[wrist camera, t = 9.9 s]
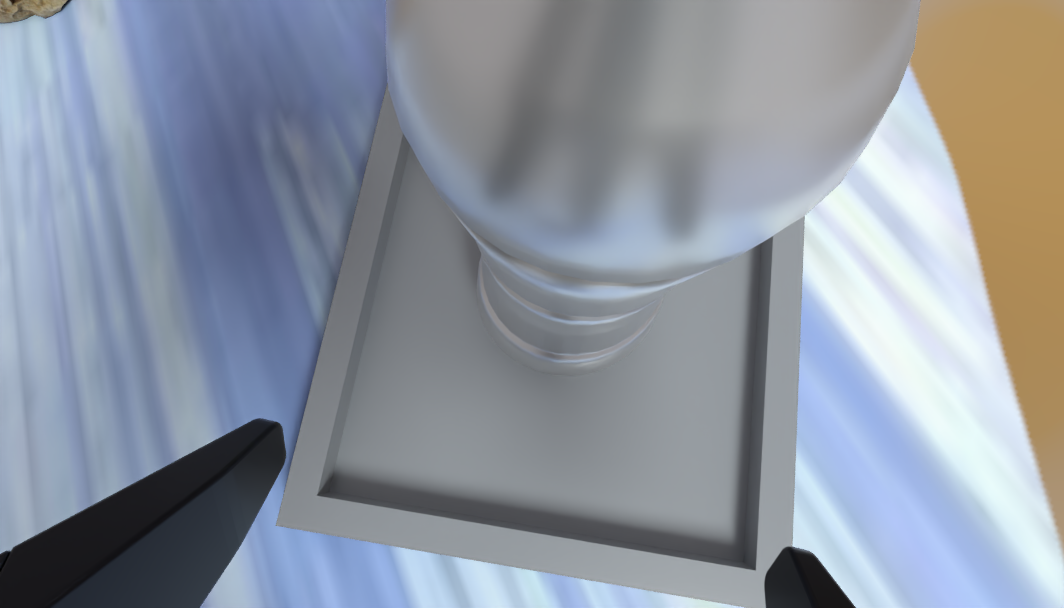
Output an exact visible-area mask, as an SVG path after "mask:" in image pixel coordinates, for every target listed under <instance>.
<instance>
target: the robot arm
mask: <svg viewBox="0 0 1064 608" xmlns="http://www.w3.org/2000/svg"><path fill="white" fill-rule="evenodd" d="M285 459H286V449H285V443H284V436H283V429H282V426H281V425H280V423H278V422H275V421H270V420H266V419H261V418H259V419H255V420H252V421H250V422H248V423H247V424H245V425H243V426H241V427H239V428H237V429H235V430H233V431H231V432H230V433H228V434H226V435H224V436H222V437H220V438H218V439H216V440H215V441H213V442H211V443H209V444H207V445H205V446H203V447H201V448H199V449H198V450H196V451H194V452H192V453H190V454H188V455H186V456H184V457H182V458H181V459H179V460H177V461H175V462H173V463H171V464H169V465H167V466H165V467H164V468H162V469H160V470H158V471H156V472H154V473H152V474H150V475H149V476H147V477H145V478H143V479H141V480H139V481H137V482H135V483H133V484H132V485H130V486H128V487H126V488H124V489H122V490H120V491H118V492H116V493H115V494H113V495H111V496H109V497H107V498H105V499H103V500H101V501H100V502H98V503H96V504H94V505H92V506H90V507H88V508H86V509H84V510H83V511H81V512H79V513H77V514H75V515H73V516H71V517H69V518H67V519H66V520H64V521H62V522H60V523H58V524H56V525H54V526H52V527H51V528H49V529H47V530H45V531H43V532H41V533H39V534H37V535H35V536H34V537H32V538H30V539H28V540H26V541H24V542H22V543H20V544H18V545H17V546H15V547H14V548H13V549H12V550H11V551H5V552H3V553H1V554H0V608H200V606H201V605H202V603H203V602H204V600H205V599H206V597H207V596H208V594H209V593H210V591H211V590H212V588H213V587H214V585H215V584H216V582H217V581H218V579H219V578H220V576H221V575H222V573H223V572H224V570H225V569H226V567H227V566H228V564H229V563H230V561H231V560H232V558H233V557H234V555H235V553H236V552H237V550H238V549H239V547H240V546H241V544H242V542H243V540H244V538H245V537H246V535H247V533H248V531H249V529H250V528H251V526H252V524H253V522H254V520H255V518H256V516H257V514H258V512H259V511H260V509H261V507H262V505H263V503H264V501H265V499H266V497H267V496H268V494H269V492H270V490H271V488H272V486H273V484H274V482H275V480H276V479H277V477H278V475H279V473H280V471H281V469H282V467H283V465H284V462H285ZM764 591H765V605H766V608H856V607H855V606H854V605H853V603H852V602H851V601H850V600H849V598H848V597H847V596H846V594H845V593H844V592H843V590H842V589H841V588H840V587H839V585H838V584H837V583H836V581H835V580H834V579H833V578H832V576H831V575H830V574H829V572H828V571H827V570H826V569H825V567H824V566H823V565H822V563H821V562H820V561H819V560H818V558H817V557H816V556H815V555H814V554H813V553H811V552H810V551H807V550H804V549H799V548H795V547H791V546H787V547H785V548H783V549H782V551H781V552H780V553H779V555H778V556H777V558H776V559H775V561H774V562H773V563H772V565H771V566H770V568H769V569H768V571H767V573H766V576H765V580H764Z"/></svg>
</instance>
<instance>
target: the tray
mask: <svg viewBox="0 0 1064 608" xmlns="http://www.w3.org/2000/svg"><path fill="white" fill-rule="evenodd" d="M804 219H805V216H804V217H802V218H800V219H799V220H797V221H795V222H794V223H792V224H790V225H789V226H787V227H786V228H784V229H783V230H781V231H779V232H778V233H776V234H775V235H773V236H772V237H770V238H769V239H767V240H765V241H764V242H762V243H760V244H759V245H757V246H755V247H754V248H752V249H750V250H748V251H747V252H745V253H743V254H742V255H740V256H738V257H737V258H735V259H733V260H731V261H729V262H727V263H724V264H721V265H719V266H717V267H715V268H713V269H710V270H708V271H706V272H704V273H702V274H699V275H697V276H695V277H693V278H690V279H688V280H686V281H684V282H682V283H679V284H677V285H676V286H675V287H673V288H672V289H671V290H669V291H668V292H667V293H665V295H664V297H663V302H662V305H661V307H660V310H659V312H658V314H657V316H656V318H655V320H654V323H653V325H652V327H651V329H650V331H649V332H648V333H647V335H646V336H645V338H644V339H643V340H642V342H641V343H640V344H639V345H638V346H637V347H636V348H635V349H634V350H633V351H632V352H631V353H629V354H628V355H627V356H626V357H625V358H623V359H621V360H620V361H618V362H616V363H615V364H613V365H611V366H610V367H607V368H604V369H602V370H599V371H596V372H593V373H589V374H582V375H576V376H563V375H551V374H547V373H543V372H539V371H535V370H533V369H531V368H529V367H527V366H524V365H522V364H520V363H518V362H517V361H516V360H514V359H513V358H511V357H510V356H509V355H507V354H506V353H505V352H504V351H503V350H502V349H501V348H500V347H499V346H498V345H497V344H496V343H495V341H494V340H493V339H492V338H491V336H490V334H489V332H488V331H487V329H486V327H485V326H484V324H483V321H482V318H481V315H480V312H479V308H478V301H477V292H476V289H477V278H478V268H479V261H480V258H481V252H480V250H479V248H478V245H477V243H476V241H475V239H474V238H473V237H472V236H471V234H470V233H469V232H468V231H467V229H466V228H465V227H464V226H463V224H462V223H461V222H460V221H459V219H458V218H457V217H456V215H455V214H454V213H453V212H452V210H451V209H450V208H449V207H448V205H447V204H446V203H445V202H444V201H443V200H442V199H441V198H440V196H439V194H438V193H437V191H436V189H435V187H434V186H433V184H432V182H431V181H430V179H429V177H428V176H427V174H426V172H425V171H424V169H423V167H422V166H421V164H420V162H419V160H418V159H417V157H416V155H415V153H414V151H413V149H412V147H411V146H410V144H409V142H408V141H407V139H406V137H405V136H404V134H403V132H402V131H401V128H400V125H399V121H398V118H397V115H396V112H395V109H394V106H393V103H392V99H391V96H390V93H389V90H388V82H387V86H386V90H385V94H384V98H383V102H382V106H381V110H380V114H379V118H378V122H377V126H376V130H375V134H374V138H373V142H372V146H371V150H370V154H369V158H368V162H367V165H366V169H365V173H364V177H363V181H362V185H361V189H360V193H359V197H358V201H357V205H356V209H355V213H354V217H353V221H352V225H351V229H350V233H349V237H348V241H347V245H346V249H345V253H344V257H343V261H342V265H341V269H340V273H339V277H338V281H337V285H336V288H335V292H334V296H333V300H332V304H331V308H330V312H329V316H328V320H327V324H326V328H325V332H324V336H323V340H322V344H321V348H320V352H319V356H318V360H317V364H316V368H315V372H314V376H313V380H312V384H311V388H310V392H309V396H308V400H307V404H306V407H305V411H304V415H303V419H302V423H301V427H300V431H299V435H298V439H297V443H296V447H295V451H294V455H293V459H292V463H291V467H290V471H289V475H288V479H287V483H286V487H285V491H284V495H283V499H282V503H281V507H280V511H279V515H278V519H277V523H276V526H281V527H287V528H292V529H298V530H304V531H310V532H315V533H321V534H327V535H333V536H338V537H344V538H350V539H356V540H361V541H367V542H373V543H379V544H384V545H390V546H396V547H402V548H407V549H413V550H419V551H425V552H430V553H436V554H442V555H448V556H453V557H459V558H465V559H470V560H476V561H482V562H488V563H493V564H499V565H505V566H511V567H516V568H522V569H528V570H534V571H539V572H545V573H551V574H557V575H562V576H568V577H574V578H580V579H585V580H591V581H597V582H603V583H608V584H614V585H620V586H626V587H631V588H637V589H643V590H649V591H654V592H660V593H666V594H672V595H677V596H683V597H689V598H695V599H700V600H706V601H712V602H718V603H723V604H729V605H735V606H741V607H746V608H766V605H765V591H764V580H765V576H766V573H767V571H768V569H769V568H770V566H771V565H772V563H773V562H774V561H775V559H776V558H777V556H778V555H779V553H780V552H781V551H782V549H783V548H785V547H787V546H791V547H792V541H793V514H794V488H795V461H796V434H797V407H798V380H799V353H800V327H801V300H802V273H803V246H804Z"/></svg>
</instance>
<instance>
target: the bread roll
mask: <svg viewBox="0 0 1064 608" xmlns="http://www.w3.org/2000/svg"><path fill="white" fill-rule="evenodd" d="M66 1H67V0H0V23H8V22H15V21H21V20H24V19H27V18H28V17H31V16H33V15H37V16H41V17H43V18H47V17H51V16H53V15H54V14H55V13H57V12H59V11H61V7H62V6H63V5H64V4H65V2H66Z"/></svg>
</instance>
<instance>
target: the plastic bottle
mask: <svg viewBox="0 0 1064 608" xmlns="http://www.w3.org/2000/svg"><path fill="white" fill-rule="evenodd" d="M920 1H921V0H386V40H385V50H386V64H387V78H388V90H389V93H390V96H391V99H392V103H393V106H394V109H395V112H396V115H397V118H398V121H399V125H400V128H401V131H402V132H403V134H404V136H405V137H406V139H407V141H408V142H409V144H410V146H411V147H412V149H413V151H414V153H415V155H416V157H417V159H418V160H419V162H420V164H421V166H422V167H423V169H424V171H425V172H426V174H427V176H428V177H429V179H430V181H431V182H432V184H433V186H434V187H435V189H436V191H437V193H438V194H439V196H440V198H441V199H442V200H443V201H444V202H445V203H446V204H447V205H448V207H449V208H450V209H451V210H452V212H453V213H454V214H455V215H456V217H457V218H458V219H459V221H460V222H461V223H462V224H463V226H464V227H465V228H466V229H467V231H468V232H469V233H470V234H471V236H472V237H473V238H474V239H475V241H476V243H477V245H478V248H479V250H480V252H481V258H480V261H479V268H478V278H477V289H476V292H477V301H478V308H479V312H480V315H481V318H482V321H483V324H484V326H485V327H486V329H487V331H488V332H489V334H490V336H491V338H492V339H493V340H494V341H495V343H496V344H497V345H498V346H499V347H500V348H501V349H502V350H503V351H504V352H505V353H506V354H507V355H509V356H510V357H511V358H513V359H514V360H516V361H517V362H518V363H520V364H522V365H524V366H527V367H529V368H531V369H533V370H535V371H539V372H543V373H547V374H551V375H563V376H576V375H582V374H589V373H593V372H596V371H599V370H602V369H604V368H607V367H610V366H611V365H613V364H615V363H616V362H618V361H620V360H621V359H623V358H625V357H626V356H627V355H628V354H629V353H631V352H632V351H633V350H634V349H635V348H636V347H637V346H638V345H639V344H640V343H641V342H642V340H643V339H644V338H645V336H646V335H647V333H648V332H649V331H650V329H651V327H652V325H653V323H654V320H655V318H656V316H657V314H658V312H659V310H660V307H661V305H662V302H663V297H664V295H665V293H667V292H668V291H669V290H671V289H672V288H673V287H675V286H676V285H677V284H679V283H682V282H684V281H686V280H688V279H690V278H693V277H695V276H697V275H699V274H702V273H704V272H706V271H708V270H710V269H713V268H715V267H717V266H719V265H721V264H724V263H727V262H729V261H731V260H733V259H735V258H737V257H738V256H740V255H742V254H743V253H745V252H747V251H748V250H750V249H752V248H754V247H755V246H757V245H759V244H760V243H762V242H764V241H765V240H767V239H769V238H770V237H772V236H773V235H775V234H776V233H778V232H779V231H781V230H783V229H784V228H786V227H787V226H789V225H790V224H792V223H794V222H795V221H797V220H799V219H800V218H802V217H804V216H805V215H806V214H807V213H808V212H809V211H811V210H812V209H813V208H814V207H815V206H816V205H817V204H818V203H819V202H820V201H822V200H823V199H824V198H825V197H826V196H827V195H828V194H829V193H830V192H831V191H833V190H834V189H835V188H836V187H837V186H838V185H839V184H840V183H841V182H842V180H843V179H844V177H845V176H846V175H847V173H848V172H849V170H850V169H851V167H852V166H853V165H854V163H855V162H856V160H857V159H858V157H859V156H860V155H861V153H862V152H863V150H864V149H865V147H866V146H867V144H868V143H869V141H870V139H871V137H872V135H873V134H874V132H875V130H876V128H877V127H878V125H879V123H880V121H881V120H882V118H883V116H884V114H885V112H886V111H887V109H888V107H889V105H890V104H891V102H892V100H893V98H894V97H895V95H896V93H897V91H898V89H899V86H900V84H901V81H902V79H903V76H904V74H905V71H906V68H907V66H908V63H909V61H910V58H911V56H912V53H913V51H914V47H915V39H916V31H917V24H918V16H919V9H920Z"/></svg>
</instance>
